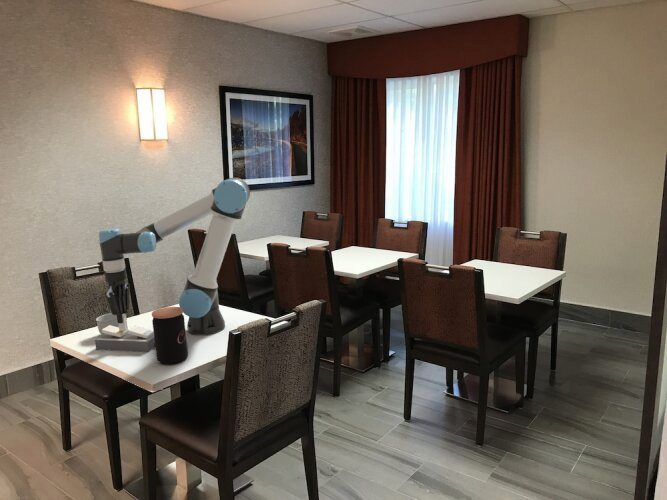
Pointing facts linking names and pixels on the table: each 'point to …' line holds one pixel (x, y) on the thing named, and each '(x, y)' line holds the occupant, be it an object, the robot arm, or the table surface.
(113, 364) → the table surface
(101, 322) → the teacup
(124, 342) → the power strip
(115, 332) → the rocker amber
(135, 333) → the white flat packet
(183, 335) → the coffee jar
